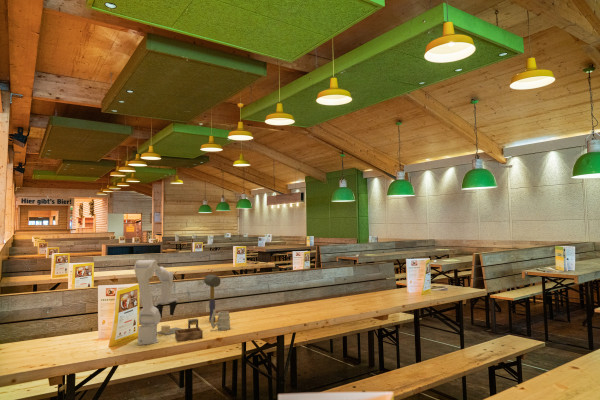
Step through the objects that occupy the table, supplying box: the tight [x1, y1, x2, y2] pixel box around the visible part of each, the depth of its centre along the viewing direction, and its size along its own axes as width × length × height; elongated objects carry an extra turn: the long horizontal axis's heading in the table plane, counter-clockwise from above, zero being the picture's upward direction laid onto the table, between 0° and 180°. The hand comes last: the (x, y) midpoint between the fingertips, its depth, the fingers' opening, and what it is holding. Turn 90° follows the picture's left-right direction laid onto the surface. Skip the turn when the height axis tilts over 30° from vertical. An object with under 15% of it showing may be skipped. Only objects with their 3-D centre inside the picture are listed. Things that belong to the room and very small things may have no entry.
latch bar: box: [188, 318, 197, 326], centre depth 224 cm, size 3×10×1 cm, turn 25°
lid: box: [157, 324, 182, 336], centre depth 225 cm, size 13×10×4 cm
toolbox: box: [174, 318, 204, 343], centre depth 214 cm, size 13×16×8 cm
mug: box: [209, 309, 231, 331], centre depth 229 cm, size 8×12×12 cm, turn 116°
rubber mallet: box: [204, 274, 221, 323], centre depth 249 cm, size 12×8×30 cm, turn 34°
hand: (166, 316), depth 223 cm, fingers open, 7 cm apart
